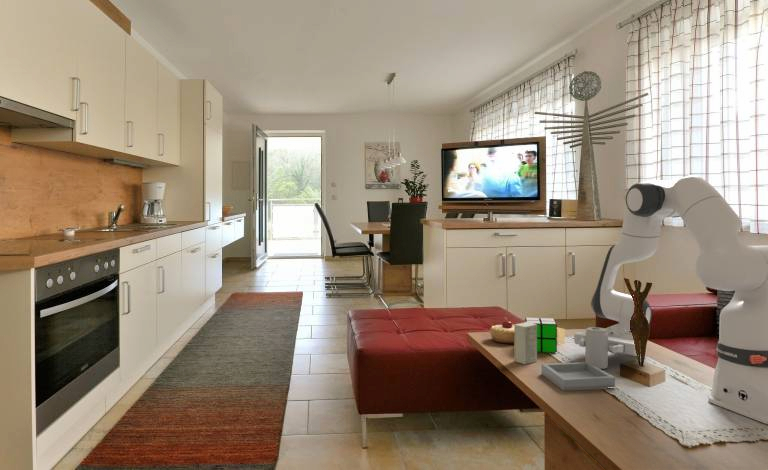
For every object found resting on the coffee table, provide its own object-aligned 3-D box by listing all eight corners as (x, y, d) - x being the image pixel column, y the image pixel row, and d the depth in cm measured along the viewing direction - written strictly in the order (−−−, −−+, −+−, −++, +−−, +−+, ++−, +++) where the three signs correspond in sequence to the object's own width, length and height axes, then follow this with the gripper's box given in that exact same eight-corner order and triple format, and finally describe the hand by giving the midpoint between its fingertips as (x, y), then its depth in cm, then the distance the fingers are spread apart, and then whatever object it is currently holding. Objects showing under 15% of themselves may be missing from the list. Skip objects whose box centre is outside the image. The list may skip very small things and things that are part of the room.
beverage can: (603, 364, 158) (604, 326, 157) (610, 370, 152) (611, 331, 151) (582, 364, 159) (582, 326, 158) (588, 370, 152) (589, 331, 152)
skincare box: (526, 358, 166) (526, 321, 165) (537, 361, 162) (537, 324, 161) (513, 361, 162) (513, 324, 162) (524, 364, 158) (524, 326, 158)
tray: (614, 388, 136) (615, 377, 136) (564, 390, 135) (564, 379, 135) (587, 371, 151) (587, 362, 151) (541, 374, 149) (541, 363, 149)
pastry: (497, 346, 181) (497, 321, 181) (485, 338, 193) (485, 315, 193) (528, 344, 183) (528, 320, 183) (515, 336, 195) (515, 313, 194)
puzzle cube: (553, 346, 181) (554, 318, 180) (556, 353, 171) (557, 324, 171) (524, 344, 183) (525, 317, 183) (526, 352, 173) (526, 323, 173)
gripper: (585, 324, 171) (564, 331, 162) (649, 335, 156) (629, 342, 147) (585, 343, 171) (564, 350, 162) (648, 355, 156) (629, 364, 147)
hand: (595, 346), depth 154 cm, fingers open, 8 cm apart
